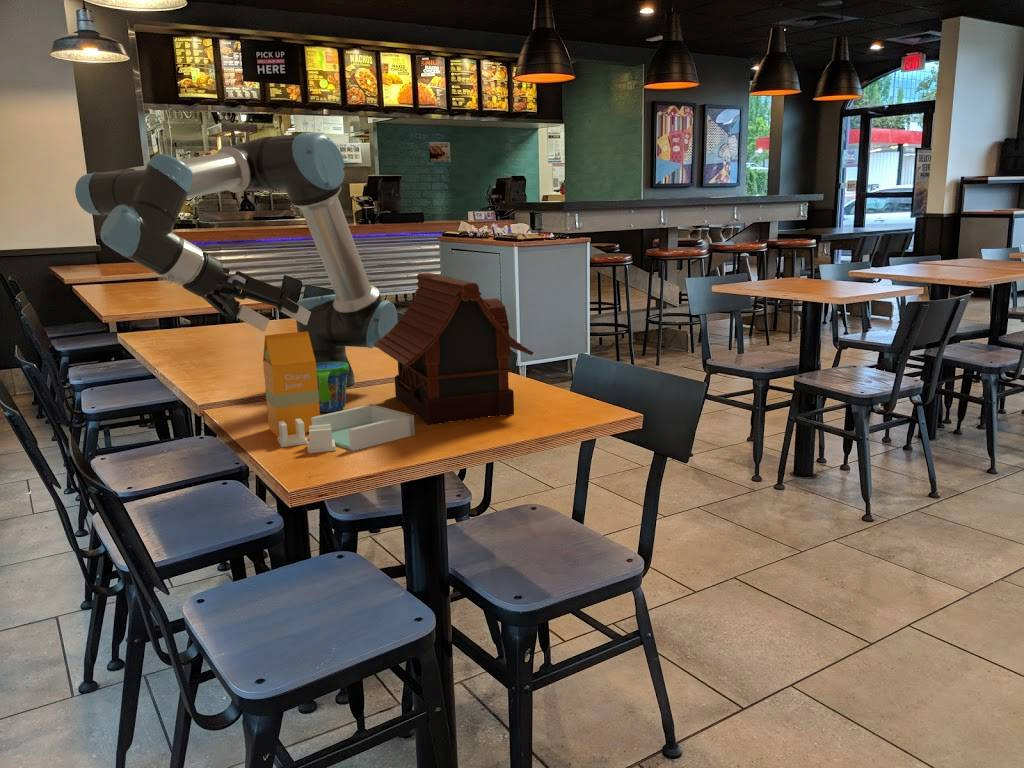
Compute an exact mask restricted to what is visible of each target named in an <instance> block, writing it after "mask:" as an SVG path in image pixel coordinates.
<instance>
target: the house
mask: <svg viewBox="0 0 1024 768" xmlns="http://www.w3.org/2000/svg"><path fill="white" fill-rule="evenodd" d="M416 280H417V283H416V285H417V289H416V291H415V292H414V294H415V295H414V296H413V297H412V299H411V302H410V303H409V305H407V309H406V311H404V312H403V315H402V316H401V317H400V318H399V320H398V321H397V324H396V325H395V326H394V327H393V328H392V329H391V330H390V332H388V333H387V334H385V335H384V337H382V338H381V339H379V341H378V342H376V343H374V345H375V346H376V347H377V349H379V350H380V351H381V352H383V353H385V354H386V355H388V356H389V357H391V358H392V359H394V360H395V361H397V373H398V374H396V375H395V377H394V389H395V391H394V393H395V397H396V399H397V400H398V401H399V402H401V403H402V404H404V405H405V406H406V407H407V408H408V409H409V410H410V411H412V412H413V413H414V414H415V415H416V416H417V415H418V416H417V417H418V418H419V419H421V420H422V421H423V420H424V421H423V422H424V423H426V424H427V425H428V426H432V425H431V424H434V425H440V424H439V423H442V424H445V422H446V423H450V422H449V421H454V422H460V421H459V420H462V421H467V420H466V419H469V420H475V419H474V418H478V419H482V418H481V417H487V418H489V417H488V416H495V417H501V416H500V415H507V416H510V415H509V414H513V415H514V414H515V402H514V401H515V398H514V397H515V396H514V395H515V394H514V393H515V392H514V390H513V389H511V388H509V387H510V386H509V373H512V371H513V370H512V368H510V367H509V358H511V349H514V350H517V351H519V352H522V353H524V354H527V355H529V356H532V355H533V354H534V351H531V350H530V349H528V348H527V347H525V346H523V345H522V344H521V343H519V342H518V341H517V340H516V339H515V338H513V337H512V336H511V335H510V332H509V331H510V323H509V320H508V314H507V310H506V306H505V305H504V303H503V301H502V300H500V298H485V299H483V298H482V296H481V295H482V292H481V291H480V286H479V285H478V283H475V282H472V281H467V280H461V279H456V278H453V277H451V276H445V275H440V274H439V273H438V274H437V273H431V272H424V273H422V272H421V273H420V272H419V273H418V274H417V275H416ZM496 415H498V416H496Z"/></svg>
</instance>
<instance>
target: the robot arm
mask: <svg viewBox="0 0 1024 768" xmlns="http://www.w3.org/2000/svg"><path fill="white" fill-rule="evenodd" d="M344 169H345V162H344V157H343V155H342V152H341V150H340V149H339V146H338V145H337V144H336V142H335V141H333V139H331V138H330V137H328V136H326V135H324V134H322V133H311V132H302V133H296V134H286V135H285V134H284V135H274V136H273V135H272V136H271V135H270V136H262V137H259V138H255V139H252V140H248V141H244V142H241V143H238V144H234V145H229V146H224V147H221V148H220V149H218V150H217V152H216V153H212V154H206V155H200V156H194V157H189V158H183V159H179V158H177V157H175V156H172V155H170V154H164V153H157V154H154V155H153V156H151V157H150V159H149V161H148V163H146V165H141V166H135V167H129V168H123V169H119V170H118V169H117V170H111V171H104V172H101V171H96V172H92V173H87V174H84V175H82V176H81V177H80V178H78V180H77V182H76V184H75V186H74V187H75V188H74V189H75V190H74V193H75V198H76V201H77V203H78V205H79V206H80V207H81V209H82V210H83V211H84V212H86V213H87V214H91V215H94V216H102V217H107V218H106V219H105V220H104V221H103V223H102V226H101V229H100V234H99V235H100V239H101V242H102V243H103V244H104V245H105V246H107V247H109V248H110V249H111V250H113V251H115V252H116V253H118V254H120V255H121V256H122V257H124V258H127V259H129V260H131V261H133V262H135V263H136V264H139V265H140V266H143V267H144V268H146V269H149V270H151V272H154V273H156V275H157V274H158V275H160V276H161V277H164V278H166V282H167V283H175V284H176V285H177V286H182V288H183V289H184V290H187V291H188V292H190V293H191V294H194V295H196V296H198V297H201V298H202V299H204V300H205V301H206V303H208V304H209V305H210V306H211V307H213V308H214V309H215V310H216V311H217V312H218V313H219V314H221V315H222V316H224V317H227V316H230V317H233V318H234V317H236V318H237V319H239V320H241V321H243V322H245V323H247V324H249V325H250V326H252V327H254V328H256V329H257V330H260V331H261V332H264V333H265V332H267V331H266V330H267V328H268V325H269V323H270V322H269V321H270V318H268V317H266V316H264V315H263V314H260V313H259V312H257V311H255V310H253V309H252V308H250V307H248V306H247V305H244V304H241V301H239V300H242V301H243V300H245V299H247V300H248V299H249V300H251V301H255V302H259V303H262V304H266V305H269V306H273V307H277V311H278V312H281V313H283V314H284V315H287V316H288V317H290V318H292V319H293V320H294V321H295V320H296V329H297V330H296V331H297V332H306V331H308V334H309V337H310V341H311V345H312V349H313V353H314V357H315V360H316V363H319V362H345V363H348V364H349V372H348V373H347V386H346V388H347V387H350V386H353V385H354V384H355V373H354V371H353V369H352V366H351V363H350V361H349V359H348V356H347V352H346V350H347V349H346V347H350V348H351V347H352V348H353V347H354V348H355V347H356V348H368V349H373V348H377V347H376V346H375V345H374V343H376V342H378V341H379V339H381V338H382V337H384V335H385V334H387V333H388V332H390V330H391V329H392V328H393V327H394V326H395V325H396V324H397V323H398V311H397V309H396V306H395V304H394V303H393V302H391V301H389V300H388V299H387V300H386V299H385V300H383V298H382V296H381V293H380V290H379V289H378V288H377V287H376V286H375V285H372V284H370V281H369V279H368V276H367V274H366V270H365V268H364V264H363V262H362V259H361V257H360V253H359V251H358V248H357V246H356V243H355V240H354V237H353V235H352V232H351V229H350V226H349V223H348V222H347V221H348V220H347V219H346V215H345V213H344V210H343V207H342V204H341V201H340V199H339V195H340V193H341V191H342V185H341V184H342V183H343V181H344V179H345V176H346V175H345V173H346V172H345V170H344ZM225 191H228V192H231V193H235V194H236V193H241V192H248V191H249V192H250V191H256V192H257V191H262V192H263V191H264V192H286V194H287V196H288V200H289V201H290V204H291V205H292V206H293V207H296V208H298V209H300V210H301V212H302V216H303V218H304V219H305V223H306V225H307V227H308V229H309V232H310V235H311V237H312V240H313V242H314V245H315V247H316V249H317V252H318V255H319V257H320V260H321V262H322V265H323V266H324V267H323V268H324V270H325V272H326V274H327V277H328V280H329V282H330V286H331V287H332V290H333V294H328V295H321V296H313V297H307V298H302V299H299V300H298V301H297V302H295V301H293V300H291V299H290V298H289V294H290V292H289V291H288V290H285V289H283V288H280V287H278V286H275V285H272V284H270V283H268V282H265V281H262V280H259V279H257V278H254V277H251V276H249V275H247V274H245V273H244V272H242V271H239V270H236V271H235V273H234V275H233V274H229V273H227V272H226V273H225V271H224V267H223V263H222V261H221V260H219V259H218V258H216V257H215V256H213V255H211V254H209V253H208V252H206V251H203V250H202V249H201V248H200V247H198V246H197V245H195V244H193V243H192V242H190V241H188V240H187V239H185V238H183V237H181V236H179V235H177V234H176V233H175V232H173V230H174V227H175V224H176V223H177V220H178V217H179V215H180V213H181V210H182V208H183V206H184V204H185V202H186V200H188V199H192V198H197V197H200V196H206V195H210V194H215V193H219V192H225ZM237 299H238V300H237ZM240 304H241V305H240ZM377 349H378V348H377Z"/></svg>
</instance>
